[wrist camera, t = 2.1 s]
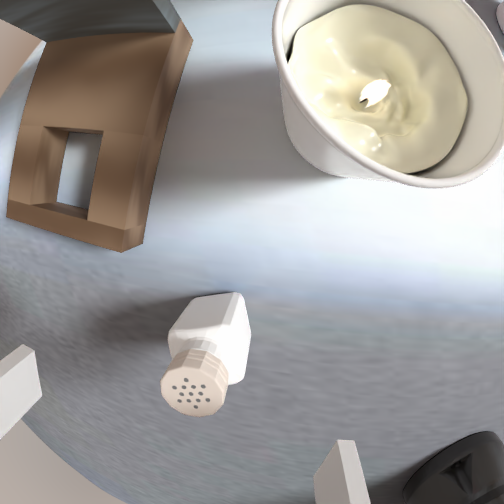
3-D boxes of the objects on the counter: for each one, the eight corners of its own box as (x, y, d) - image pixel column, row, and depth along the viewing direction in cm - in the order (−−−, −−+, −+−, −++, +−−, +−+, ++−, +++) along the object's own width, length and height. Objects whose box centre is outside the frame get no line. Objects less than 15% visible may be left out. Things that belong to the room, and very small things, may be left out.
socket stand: (142, 243, 22) (-44, 334, 6) (32, 212, 22) (-121, 246, 6) (193, 40, 18) (92, -114, 2) (73, 43, 19) (-54, -25, 3)
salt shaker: (253, 337, 23) (240, 421, 13) (202, 343, 23) (166, 423, 14) (243, 288, 22) (222, 355, 13) (190, 295, 22) (140, 361, 13)
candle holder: (256, 163, 20) (233, 128, 8) (292, 42, 18) (305, -70, 6) (388, 207, 20) (497, 229, 8) (416, 87, 18) (511, 26, 6)
